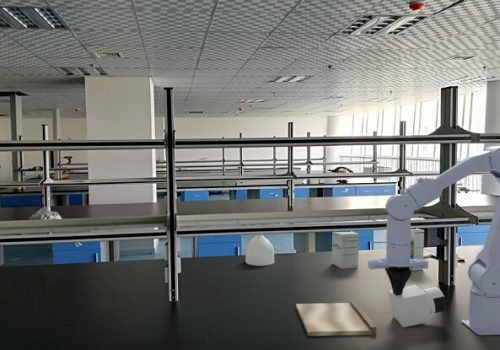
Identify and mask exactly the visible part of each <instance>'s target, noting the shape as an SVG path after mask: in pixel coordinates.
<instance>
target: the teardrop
mask: <svg viewBox="0 0 500 350" xmlns="http://www.w3.org/2000/svg"><path fill="white" fill-rule="evenodd" d="M245 263H246V264H248V265H251V266H263V267H264V266H269V265H273V264H274V263H275V250H274V246H273V244H272V243H271V241H269V239H268V238H266V237H265V236H264V235H263V234H262V235H259V236H257V235H255V237H253V238H251V240H250V241H249V243H248V244H247V245H246V248H245Z"/></svg>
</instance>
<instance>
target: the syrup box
mask: <svg viewBox="0 0 500 350" xmlns="http://www.w3.org/2000/svg"><path fill="white" fill-rule="evenodd" d="M424 243H425V230H424V229H421V228H416V229H411V253H410V259H424V247H425V246H424V245H425V244H424ZM409 270H411V272H413V271H415V272H416V271H420V270H421V271H422V270H424V269H423V268H410V269H409Z"/></svg>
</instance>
